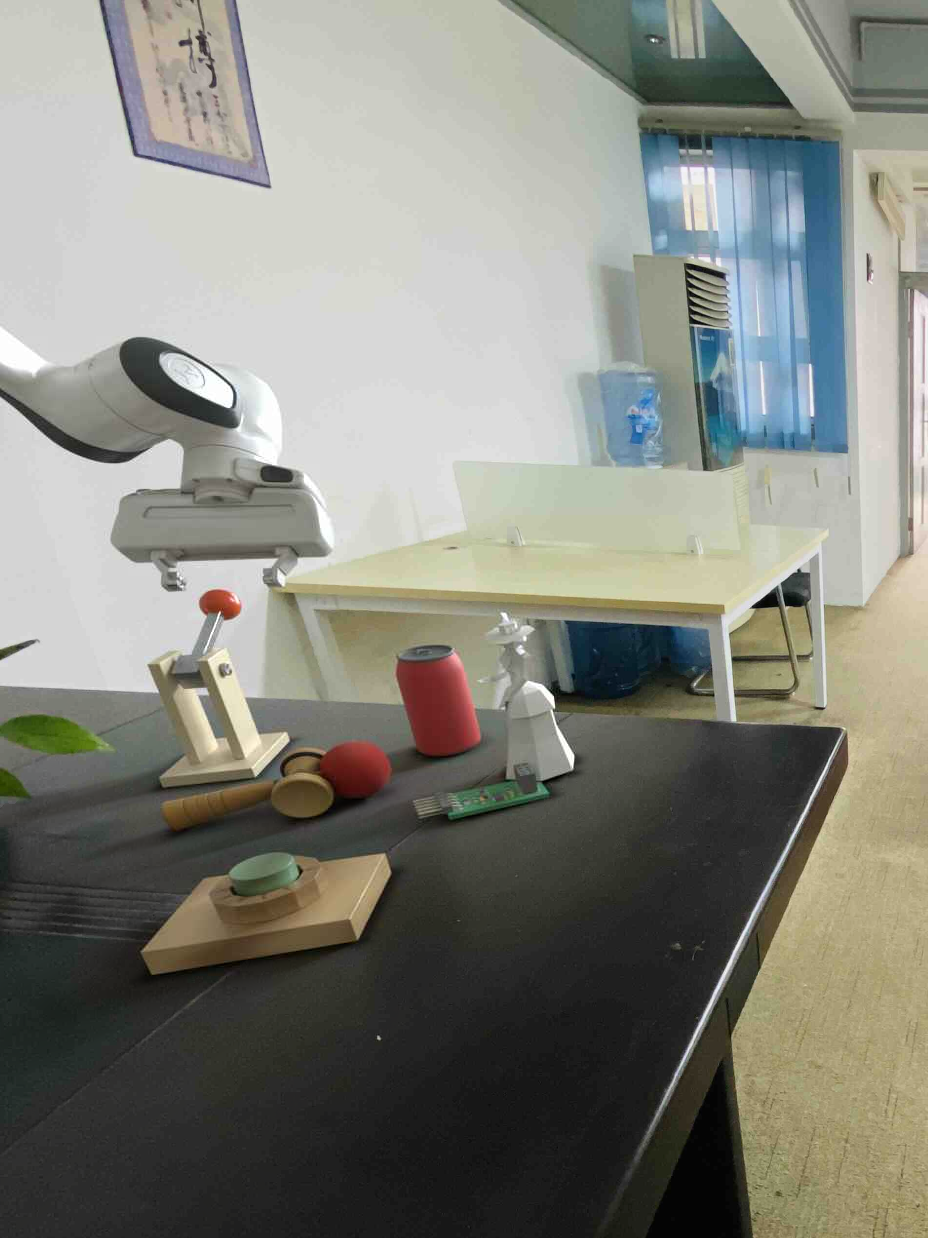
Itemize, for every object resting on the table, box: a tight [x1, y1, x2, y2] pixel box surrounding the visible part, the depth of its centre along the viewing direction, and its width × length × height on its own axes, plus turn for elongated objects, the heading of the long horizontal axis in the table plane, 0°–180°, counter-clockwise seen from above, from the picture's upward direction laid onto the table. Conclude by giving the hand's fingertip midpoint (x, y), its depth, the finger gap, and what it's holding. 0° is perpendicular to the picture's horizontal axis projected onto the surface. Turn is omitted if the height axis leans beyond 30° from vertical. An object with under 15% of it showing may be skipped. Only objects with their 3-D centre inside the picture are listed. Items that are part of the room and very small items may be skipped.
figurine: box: [477, 612, 575, 782], centre depth 89 cm, size 7×8×18 cm
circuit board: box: [412, 763, 551, 821], centre depth 84 cm, size 12×3×5 cm
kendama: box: [160, 740, 393, 832], centre depth 82 cm, size 8×6×18 cm
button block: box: [140, 853, 392, 976], centre depth 66 cm, size 13×10×4 cm
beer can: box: [395, 644, 482, 757], centre depth 94 cm, size 7×7×12 cm
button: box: [228, 852, 300, 897], centre depth 65 cm, size 4×4×2 cm
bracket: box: [146, 647, 290, 788], centre depth 88 cm, size 10×8×13 cm
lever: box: [171, 588, 243, 689], centre depth 90 cm, size 14×4×4 cm, turn 21°
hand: (224, 587), depth 94 cm, fingers open, 8 cm apart
